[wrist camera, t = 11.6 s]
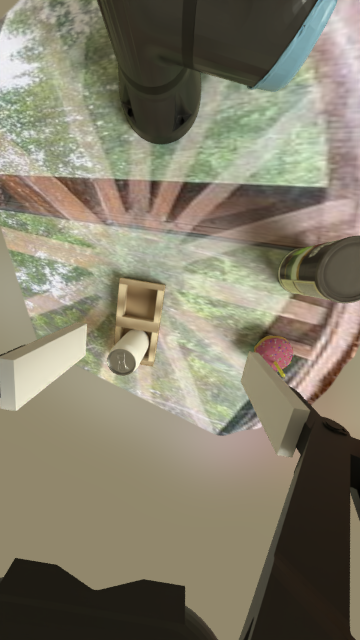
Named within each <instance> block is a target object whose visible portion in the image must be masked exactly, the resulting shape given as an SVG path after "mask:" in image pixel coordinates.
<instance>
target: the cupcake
mask: <svg viewBox="0 0 360 640" xmlns="http://www.w3.org/2000/svg"><path fill="white" fill-rule="evenodd" d="M254 352H256V353H259V354H260V355H261V356H262V357H263V359H264V360H265V361H266V362H267V363H268V364H269V365H270V366H271V367H272V369H273V370H274V371H275V372H277V371H279V373H280V374H281V376H282V377H284V376H285V374H284V373H283V371H282V370H281V369H284V368H285V367H286V366H288V365H289V363H290V362H291V359H292V357H293V348H292V347H291V345H290V343H289V342H288V341H287V340H286V339H285V338H283V337H280V336H267V337H265V338H263V339H261V340H260V341H259V342H258V343H257V345H256V346H255V347H254ZM284 379H285V377H284Z"/></svg>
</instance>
